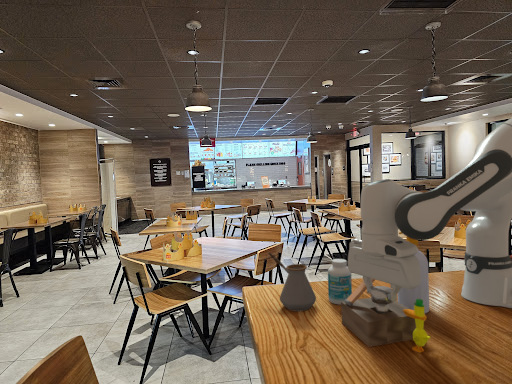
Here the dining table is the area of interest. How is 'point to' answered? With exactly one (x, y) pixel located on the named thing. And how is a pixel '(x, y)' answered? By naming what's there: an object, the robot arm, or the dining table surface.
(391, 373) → the dining table surface
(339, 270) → the pill bottle
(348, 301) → the bar
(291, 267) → the coffee pot
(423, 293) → the soap bottle
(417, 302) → the toy figure
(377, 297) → the steel pin
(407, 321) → the brown square block
